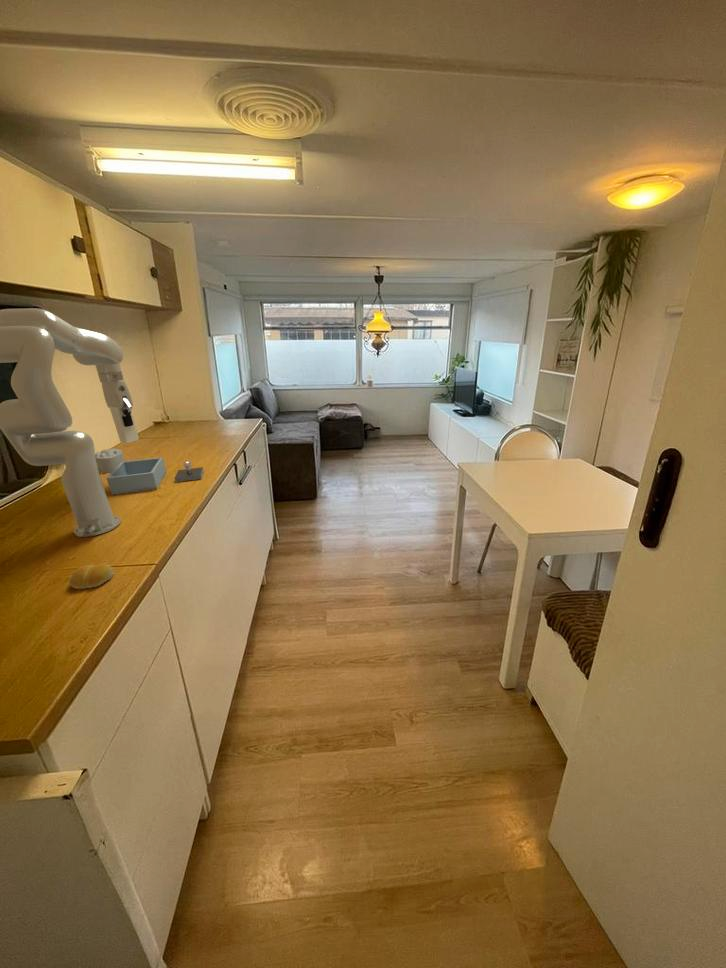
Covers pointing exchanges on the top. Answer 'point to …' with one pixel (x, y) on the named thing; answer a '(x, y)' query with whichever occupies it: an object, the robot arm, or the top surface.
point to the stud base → (189, 473)
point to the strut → (123, 432)
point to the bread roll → (90, 576)
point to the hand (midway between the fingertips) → (124, 424)
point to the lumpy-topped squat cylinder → (109, 460)
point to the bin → (136, 476)
